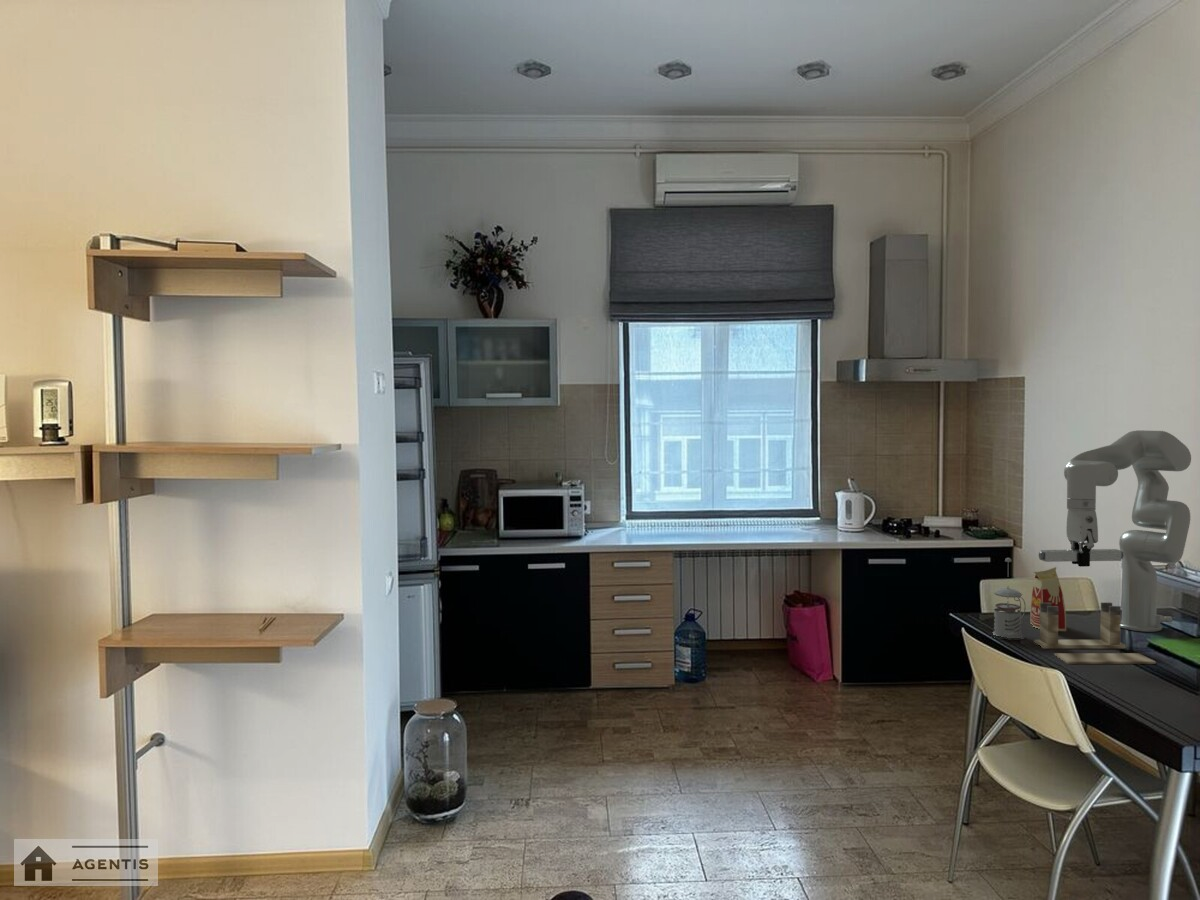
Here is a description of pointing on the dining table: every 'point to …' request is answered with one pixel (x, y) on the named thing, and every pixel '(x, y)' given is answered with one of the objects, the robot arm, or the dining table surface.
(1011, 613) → the french press
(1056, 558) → the rail
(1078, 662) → the wooden board
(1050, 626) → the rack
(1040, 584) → the milk carton
